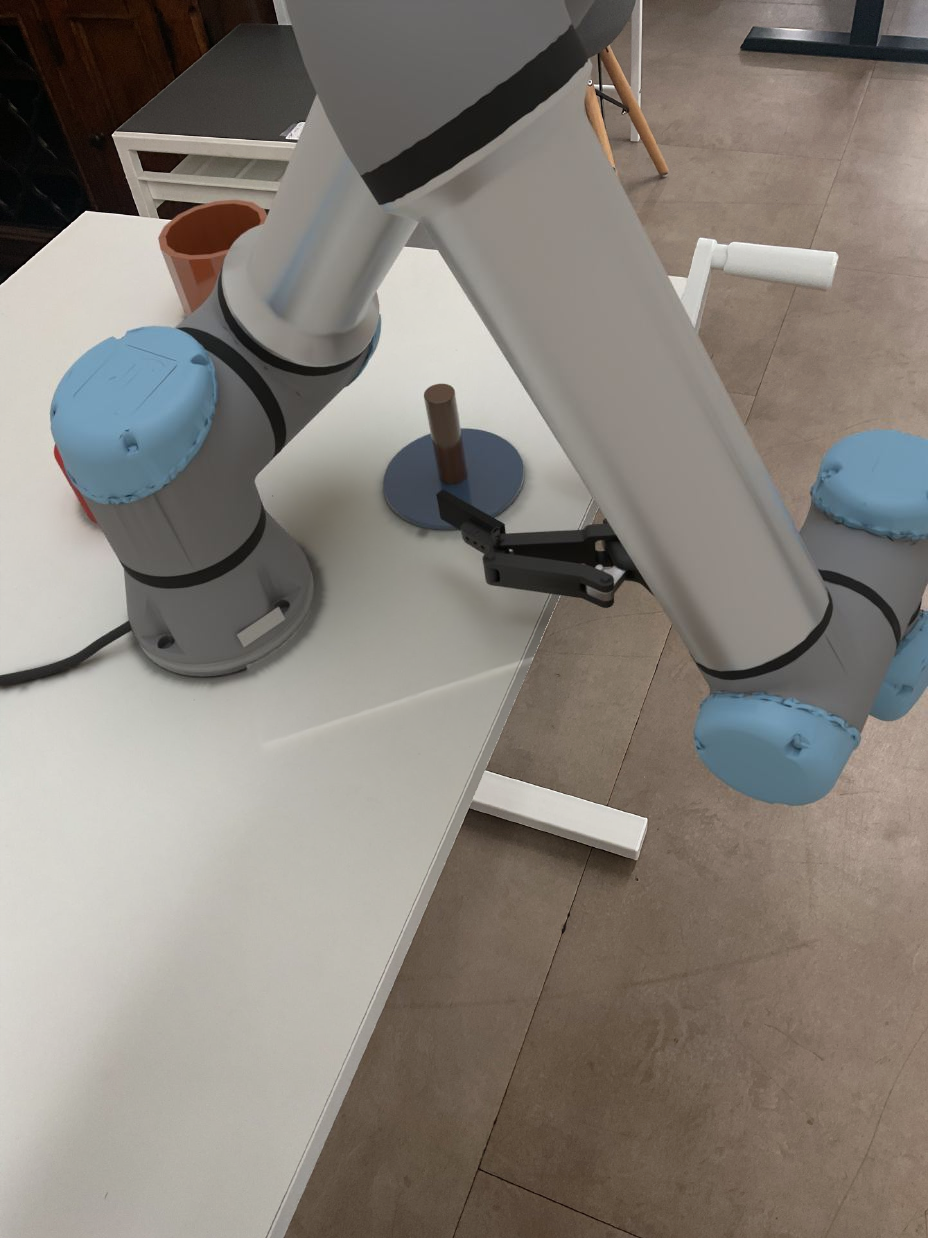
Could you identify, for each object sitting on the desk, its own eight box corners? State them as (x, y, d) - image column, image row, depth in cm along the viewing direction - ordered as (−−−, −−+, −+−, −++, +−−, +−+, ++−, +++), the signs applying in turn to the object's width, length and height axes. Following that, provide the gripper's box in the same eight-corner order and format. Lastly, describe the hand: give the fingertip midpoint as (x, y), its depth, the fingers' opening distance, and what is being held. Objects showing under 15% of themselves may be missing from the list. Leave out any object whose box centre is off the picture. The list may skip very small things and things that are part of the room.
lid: (405, 552, 86) (384, 462, 78) (371, 461, 94) (348, 371, 86) (544, 509, 87) (537, 416, 79) (498, 423, 95) (488, 331, 87)
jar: (195, 349, 109) (164, 270, 102) (182, 294, 116) (153, 217, 109) (298, 320, 110) (276, 240, 103) (279, 267, 118) (257, 189, 110)
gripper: (612, 716, 70) (399, 578, 80) (806, 510, 80) (594, 411, 90) (611, 650, 64) (382, 511, 75) (821, 437, 74) (592, 341, 85)
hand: (498, 456), depth 83 cm, fingers open, 13 cm apart
